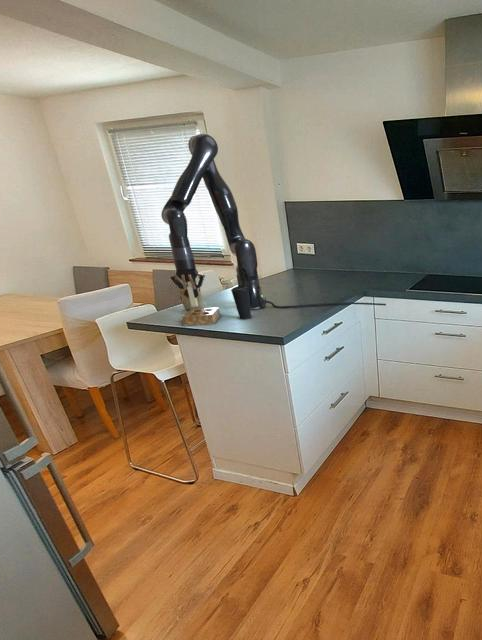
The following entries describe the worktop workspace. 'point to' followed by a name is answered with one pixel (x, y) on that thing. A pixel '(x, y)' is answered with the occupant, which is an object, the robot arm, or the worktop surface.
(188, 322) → the peg block
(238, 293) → the drinking cup
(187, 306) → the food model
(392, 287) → the worktop surface
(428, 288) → the worktop surface
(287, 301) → the worktop surface
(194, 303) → the peg
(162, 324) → the worktop surface
